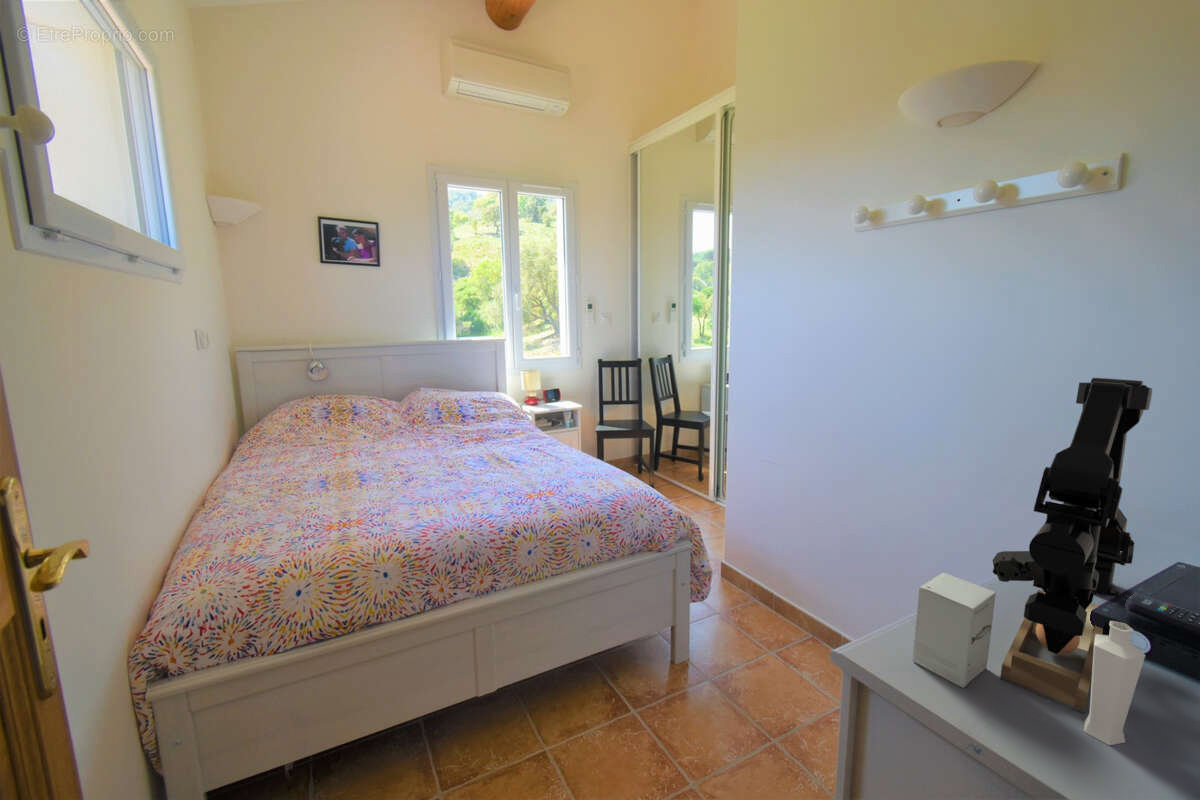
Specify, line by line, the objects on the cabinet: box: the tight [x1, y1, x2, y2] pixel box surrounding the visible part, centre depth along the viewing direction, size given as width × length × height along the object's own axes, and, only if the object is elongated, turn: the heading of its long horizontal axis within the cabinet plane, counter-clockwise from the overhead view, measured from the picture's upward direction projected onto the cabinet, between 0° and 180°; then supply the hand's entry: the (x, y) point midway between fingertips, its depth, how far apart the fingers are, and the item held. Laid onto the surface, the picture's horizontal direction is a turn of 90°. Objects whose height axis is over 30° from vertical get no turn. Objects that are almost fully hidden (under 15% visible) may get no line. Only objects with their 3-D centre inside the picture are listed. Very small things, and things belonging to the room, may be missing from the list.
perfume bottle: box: [1083, 620, 1146, 746], centre depth 65 cm, size 5×4×15 cm
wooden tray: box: [999, 589, 1104, 714], centre depth 81 cm, size 27×9×5 cm, turn 132°
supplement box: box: [912, 572, 996, 689], centre depth 78 cm, size 7×7×13 cm
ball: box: [1036, 623, 1080, 654], centre depth 79 cm, size 5×5×5 cm
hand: (1056, 643), depth 80 cm, fingers closed on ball, 5 cm apart
